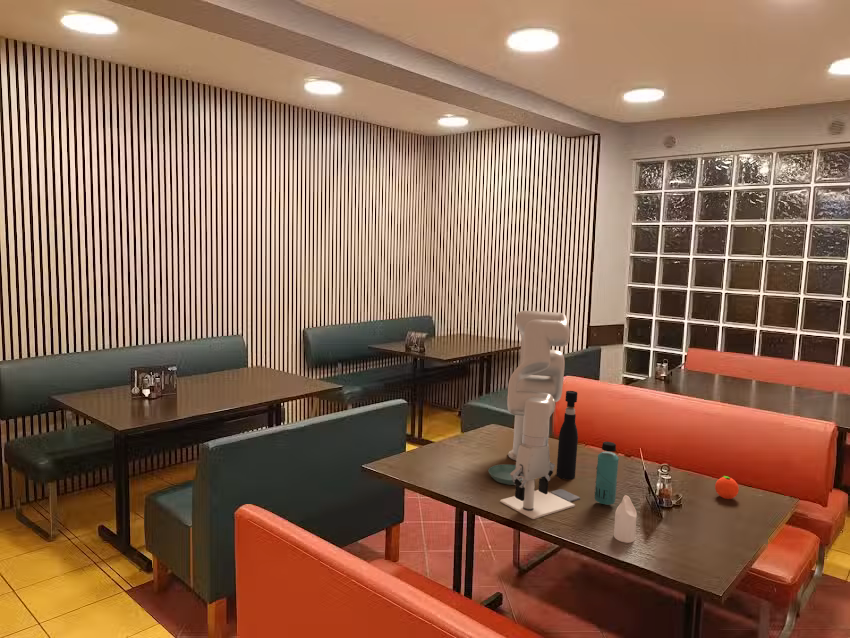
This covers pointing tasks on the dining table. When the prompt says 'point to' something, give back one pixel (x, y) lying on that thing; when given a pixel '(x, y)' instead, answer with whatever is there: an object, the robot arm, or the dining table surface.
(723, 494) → the clementine
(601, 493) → the beverage bottle
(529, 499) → the marker
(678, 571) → the dining table surface
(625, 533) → the white tapered cylinder
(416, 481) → the dining table surface
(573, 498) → the plate
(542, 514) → the pad
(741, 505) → the dining table surface
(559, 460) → the black bottle
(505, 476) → the saucer
